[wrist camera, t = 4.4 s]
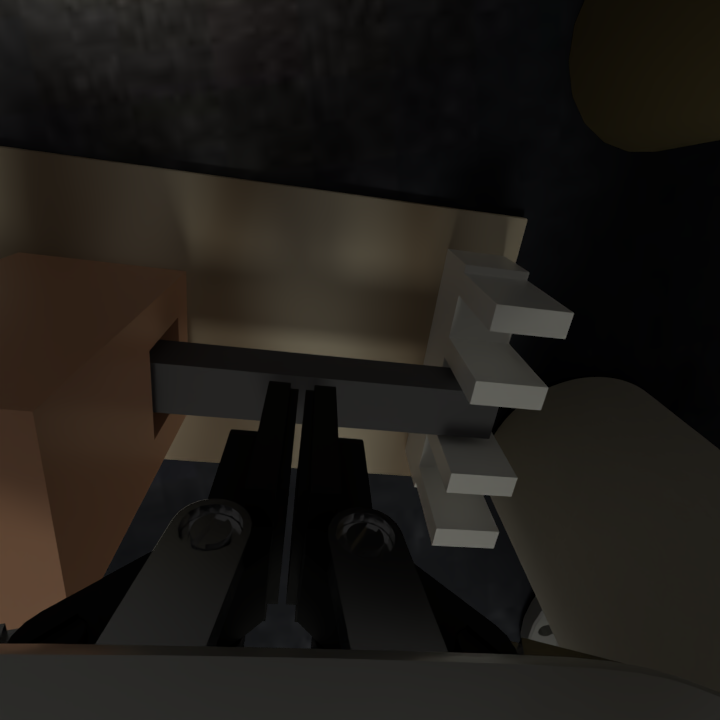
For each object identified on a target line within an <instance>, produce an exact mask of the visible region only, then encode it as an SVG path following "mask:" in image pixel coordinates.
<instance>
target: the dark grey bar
mask: <svg viewBox="0 0 720 720" xmlns="http://www.w3.org/2000/svg"><path fill="white" fill-rule="evenodd" d="M149 354H150V371H151V389H152V406H153V412H155V413H168V414H180V415H193V416H206V417H218V418H231V419H243V420H256V421H260V419H261V415H262V411H263V406H264V402H265V397H266V393H267V389H268V384H269V381H277V382H288V383H291V388H292V389H299V394H298V404H297V414H296V424H302V421H303V411H304V402H305V393H306V390H314V386H315V385H320V386H331V387H336V395H337V416H338V427H344V428H357V429H369V430H382V431H394V432H407V433H419V434H432V435H445V436H457V437H470V438H482V439H489V438H490V435H491V431H492V428H493V425H494V421H495V418H496V415H497V411H498V408H499V407H496V406H485V405H474V404H470V403H469V401H468V400H467V398H466V396H465V394H464V392H463V390H462V389H461V387H460V385H459V383H458V381H457V379H456V378H455V376H454V374H453V372H452V370H451V368H449V367H438V366H428V365H418V364H407V363H397V362H387V361H376V360H366V359H356V358H345V357H335V356H325V355H314V354H304V353H294V352H283V351H273V350H263V349H252V348H242V347H232V346H221V345H211V344H201V343H190V342H180V341H169V340H158V341H157V342H156V344H155V345H154V346H153V347H152V348H151V349H150V351H149Z"/></svg>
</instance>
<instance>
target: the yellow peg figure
mask: <svg viewBox="0 0 720 720" xmlns="http://www.w3.org/2000/svg"><path fill="white" fill-rule="evenodd" d="M569 71H570V80H571V89H572V96H573V99H574V101H575V103H576V105H577V107H578V110H579V112H580V114H581V116H582V118H583V121H584V123H585V124H586V125H587V126H588V127H589V128H590V129H591V130H592V131H593V132H594V133H595V134H596V135H597V136H598V137H599V138H600V139H601V140H602V141H603V142H605V143H607V144H610V145H612V146H615V147H617V148H620V149H622V150H625V151H628V152H657V151H663V150H668V149H673V148H679V147H684V146H690V145H695V144H700V143H706V142H711V141H717V140H720V0H585V1H584V3H583V5H582V8H581V10H580V12H579V15H578V17H577V20H576V22H575V24H574V30H573V37H572V43H571V50H570V56H569Z"/></svg>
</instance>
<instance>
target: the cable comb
mask: <svg viewBox="0 0 720 720" xmlns="http://www.w3.org/2000/svg"><path fill="white" fill-rule="evenodd" d="M528 276H529V272H528V271H526V270H525V269H523V268H522V267H520V266H519V265H517V264H516V263H514V262H512V261H511V260H509V259H508V258H506V257H505V256H502V255H494V254H486V253H478V252H470V251H462V250H454V249H448V250H447V255H446V260H445V264H444V269H443V274H442V278H441V283H440V288H439V293H438V297H437V302H436V307H435V311H434V316H433V321H432V326H431V330H430V335H429V340H428V345H427V349H426V354H425V359H424V363H423V365H428V366H438V367H449V368H451V370H452V372H453V374H454V376H455V378H456V379H457V381H458V383H459V385H460V387H461V389H462V390H463V392H464V394H465V396H466V398H467V400H468V401H469V403H470V404H474V405H485V406H496V407H508V408H519V409H531V410H541V409H542V406H543V403H544V400H545V397H546V394H547V391H548V387H547V385H546V384H545V383H544V382H543V381H542V380H541V379H540V378H539V377H538V375H537V374H536V373H535V372H534V371H533V370H532V369H531V368H530V367H529V365H528V364H527V363H526V362H525V361H524V360H523V359H522V358H521V357H520V355H519V354H518V353H517V352H516V351H515V350H514V349H513V348H512V347H511V345H510V344H509V341H510V338H511V334H521V335H530V336H540V337H549V338H558V339H566V336H567V333H568V330H569V327H570V324H571V321H572V318H573V315H574V313H573V312H572V311H570V310H569V309H568V308H566V307H565V306H563V305H562V304H560V303H559V302H557V301H556V300H555V299H553V298H552V297H550V296H549V295H547V294H546V293H544V292H543V291H542V290H540V289H539V288H537V287H536V286H534V285H533V284H531V283H530V282H529V281H527V279H528ZM405 452H406V456H407V460H408V464H409V468H410V472H411V476H412V480H413V484H414V487H417V489H418V493H419V497H420V501H421V504H422V508H423V512H424V516H425V520H426V524H427V528H428V531H429V535H430V539H431V543H432V545H435V546H455V547H474V548H493V549H494V546H495V543H496V540H497V537H498V534H499V530H498V528H497V526H496V524H495V521H494V519H493V517H492V514H491V512H490V510H489V508H488V505H487V503H486V501H485V499H484V496H483V495H493V496H508V497H511V496H512V493H513V490H514V487H515V484H516V481H517V479H518V478H517V476H516V474H515V472H514V471H513V469H512V467H511V465H510V463H509V462H508V460H507V458H506V456H505V455H504V453H503V451H502V449H501V448H500V446H499V444H498V442H497V441H496V439H495V437H494V435H493V433H492V432H491V435H490V438H489V439H482V438H470V437H457V436H445V435H432V434H419V433H409V434H408V439H407V444H406V448H405Z"/></svg>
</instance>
